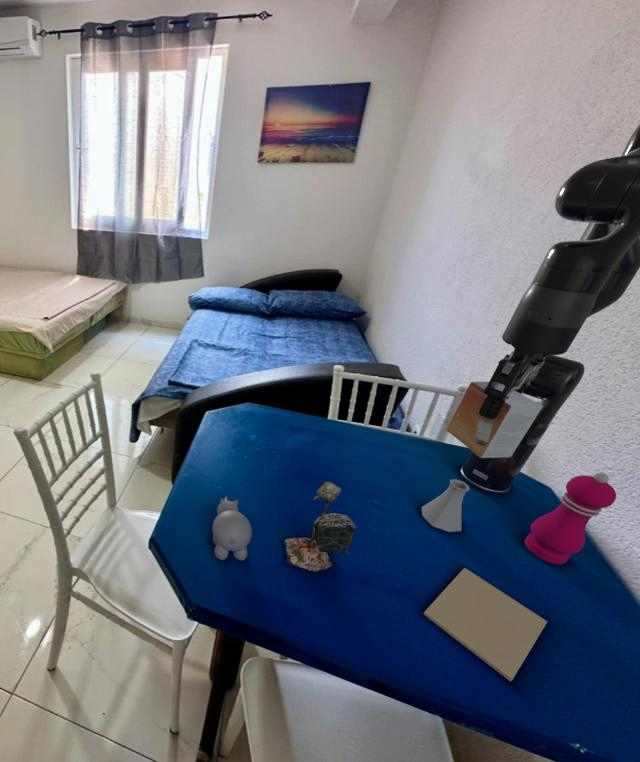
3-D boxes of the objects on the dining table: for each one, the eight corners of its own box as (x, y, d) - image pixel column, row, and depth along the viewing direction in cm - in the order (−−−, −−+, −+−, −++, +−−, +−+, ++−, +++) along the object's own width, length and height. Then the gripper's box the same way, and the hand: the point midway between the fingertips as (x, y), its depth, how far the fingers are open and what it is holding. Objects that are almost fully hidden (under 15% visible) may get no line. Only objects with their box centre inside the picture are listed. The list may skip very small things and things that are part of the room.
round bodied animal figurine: (240, 517, 86) (247, 486, 82) (249, 566, 76) (258, 534, 72) (206, 513, 87) (211, 483, 83) (210, 562, 76) (216, 530, 72)
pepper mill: (556, 542, 83) (616, 466, 73) (577, 571, 77) (645, 493, 67) (514, 532, 85) (566, 456, 75) (531, 560, 79) (591, 482, 69)
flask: (467, 536, 83) (490, 500, 79) (429, 529, 85) (448, 494, 80) (450, 510, 90) (470, 475, 85) (415, 504, 91) (432, 470, 86)
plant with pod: (347, 585, 73) (384, 503, 63) (281, 564, 76) (307, 484, 67) (343, 549, 80) (376, 471, 70) (282, 532, 83) (306, 455, 73)
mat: (463, 569, 76) (464, 567, 76) (545, 623, 68) (547, 621, 67) (422, 614, 68) (424, 612, 68) (510, 681, 60) (512, 679, 59)
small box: (444, 430, 74) (469, 380, 69) (472, 430, 75) (499, 380, 70) (480, 459, 67) (511, 405, 62) (511, 458, 68) (544, 405, 63)
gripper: (566, 333, 54) (507, 434, 61) (596, 316, 61) (540, 409, 68) (498, 316, 59) (451, 411, 67) (533, 303, 66) (487, 390, 74)
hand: (496, 410), depth 68 cm, fingers closed on small box, 7 cm apart
